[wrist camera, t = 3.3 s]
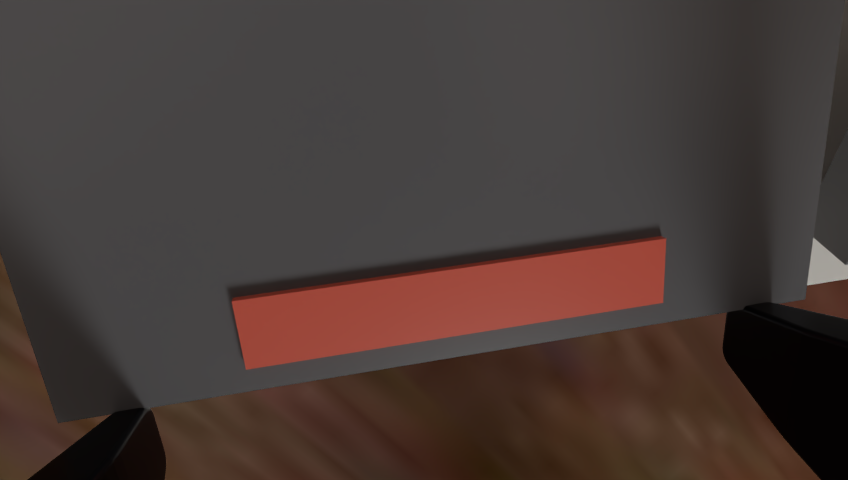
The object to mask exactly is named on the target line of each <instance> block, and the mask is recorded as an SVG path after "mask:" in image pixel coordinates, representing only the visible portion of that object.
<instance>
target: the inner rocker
mask: <svg viewBox="0 0 848 480" xmlns="http://www.w3.org/2000/svg"><path fill="white" fill-rule="evenodd" d="M813 238H815V239H816V240H817V241H818V242H819V243H820V244H821V245H823V246H824V247H825V248H826V249H827V250H828V251H830V252H831V253H832V254H833V255H834V256H835V257H837V258H838V259H839V260H840V261H841V262H842V263H844V264H845V265H848V129H847V131H846V133H845V135H844V137H843V139H842V142H841V144H840V146H839V148H838V150H837V152H836V154H835V156H834V158H833V160H832V162H831V164H830V166H829V168H828V170H827V172H826V175H825V177H824V179H823V181H822V183H821V185H820V192H819V199H818V207H817V214H816V222H815V229H814V237H813Z"/></svg>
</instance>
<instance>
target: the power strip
mask: <svg viewBox="0 0 848 480" xmlns="http://www.w3.org/2000/svg"><path fill="white" fill-rule="evenodd" d="M847 129H848V0H845V6H844V14H843V21H842V28H841V36H840V43H839V51H838V58H837V66H836V73H835V80H834V88H833V95H832V103H831V110H830V118H829V125H828V133H827V140H826V147H825V155H824V162H823V170H822V177H821V183H822V181H823V179H824V177H825V175H826V172H827V170H828V168H829V166H830V164H831V162H832V160H833V158H834V156H835V154H836V152H837V150H838V148H839V146H840V144H841V142H842V139H843V137H844V135H845V133H846V131H847ZM843 279H848V265H845V264H844V263H842V262H841V261H840V260H839V259H838V258H837V257H835V256H834V255H833V254H832V253H831V252H830V251H828V250H827V249H826V248H825V247H824V246H823V245H821V244H820V243H819V242H818V241H817V240H816V239H815V238H813V244H812V251H811V259H810V266H809V274H808V281H807V285H813V284H819V283H825V282H831V281H837V280H843Z"/></svg>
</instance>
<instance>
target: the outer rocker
mask: <svg viewBox="0 0 848 480" xmlns="http://www.w3.org/2000/svg"><path fill="white" fill-rule="evenodd" d="M844 6H845V0H0V253H1V256H2V259H3V261H4V264H5V267H6V270H7V273H8V276H9V279H10V282H11V285H12V288H13V291H14V294H15V297H16V300H17V303H18V306H19V309H20V312H21V315H22V318H23V321H24V324H25V327H26V330H27V333H28V336H29V338H30V341H31V344H32V347H33V350H34V353H35V356H36V359H37V362H38V365H39V368H40V371H41V374H42V377H43V380H44V383H45V386H46V389H47V392H48V395H49V398H50V401H51V404H52V407H53V410H54V413H55V415H56V418H57V421H58V423H61V422H67V421H73V420H79V419H85V418H91V417H97V416H103V415H109V414H113V413H114V412H117V411H123V410H129V409H135V408H144V409H145V408H152V407H158V406H164V405H170V404H176V403H182V402H188V401H194V400H200V399H206V398H212V397H218V396H224V395H230V394H236V393H242V392H248V391H254V390H260V389H266V388H272V387H278V386H284V385H290V384H296V383H302V382H308V381H315V380H321V379H327V378H333V377H339V376H345V375H351V374H357V373H363V372H369V371H375V370H381V369H387V368H393V367H399V366H405V365H411V364H417V363H423V362H429V361H435V360H441V359H447V358H453V357H459V356H465V355H471V354H477V353H484V352H490V351H496V350H502V349H508V348H514V347H520V346H526V345H532V344H538V343H544V342H550V341H556V340H562V339H568V338H574V337H580V336H586V335H592V334H598V333H604V332H610V331H616V330H622V329H628V328H634V327H640V326H647V325H653V324H659V323H665V322H671V321H677V320H683V319H689V318H695V317H701V316H707V315H713V314H719V313H725V312H731V311H737V310H743V309H744V307H745V306H747V305H753V304H759V303H765V302H771V303H776V304H779V303H785V302H791V301H797V300H803V299H805V296H806V289H807V281H808V274H809V266H810V259H811V251H812V244H813V237H814V229H815V222H816V214H817V207H818V199H819V192H820V185H821V177H822V170H823V162H824V155H825V147H826V140H827V133H828V125H829V118H830V110H831V103H832V95H833V88H834V80H835V73H836V66H837V58H838V51H839V43H840V36H841V28H842V21H843V14H844Z"/></svg>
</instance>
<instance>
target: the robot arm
mask: <svg viewBox="0 0 848 480" xmlns="http://www.w3.org/2000/svg"><path fill="white" fill-rule="evenodd" d="M723 354H724V357H725V359H726V361H727V363H728V365H729V366H730V367H731V369H732V370H733V371H734V373H735V374H736V375H737V377H738V378H739V379H740V381H741V382H742V383H743V385H744V386H745V387H746V389H747V390H748V391H749V393H750V394H751V395H752V397H753V398H754V399H755V401H756V402H757V403H758V405H759V406H760V407H761V409H762V410H763V411H764V413H765V414H766V415H767V417H768V418H769V419H770V421H771V422H772V423H773V425H774V426H775V427H776V429H777V430H778V431H779V433H780V434H781V435H782V436H783V438H784V439H785V440H786V441H787V442H788V443H789V445H790V446H791V447H792V448H793V449H794V450H795V452H796V453H797V454H798V455H799V456H800V457H801V458H802V459H803V460H804V462H805V463H806V464H807V465H808V466H809V467H810V468H811V469H812V470H813V472H814V473H815V474H816V475H817V476H818V477H819V478H820V479H821V480H848V319H843V318H839V317H834V316H830V315H825V314H821V313H816V312H812V311H807V310H803V309H798V308H794V307H789V306H785V305H780V304H776V303H771V302H765V303H759V304H753V305H747V306H745V307H744V309H743V310H737V311H731V312H727V315H726V323H725V331H724V339H723ZM165 471H166V457H165V451H164V448H163V444H162V441H161V438H160V434H159V431H158V428H157V424H156V421H155V418H154V415H153V412H152V411H151V409H150V408H145V409H144V408H135V409H129V410H123V411H117V412H114V413H113V414H111V415H110V416H109V417H108V418H106V419H105V420H104V421H102V422H101V423H100V424H99V425H97V426H96V427H95V428H93V429H92V430H91V431H90V432H88V433H87V434H86V435H84V436H83V437H82V438H81V439H79V440H78V441H77V442H75V443H74V444H73V445H72V446H70V447H69V448H68V449H66V450H65V451H64V452H63V453H61V454H60V455H59V456H57V457H56V458H55V459H54V460H52V461H51V462H50V463H48V464H47V465H46V466H45V467H43V468H42V469H41V470H39V471H38V472H37V473H35V474H34V475H33V476H32V477H30V478H29V479H28V480H164V479H165Z"/></svg>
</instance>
